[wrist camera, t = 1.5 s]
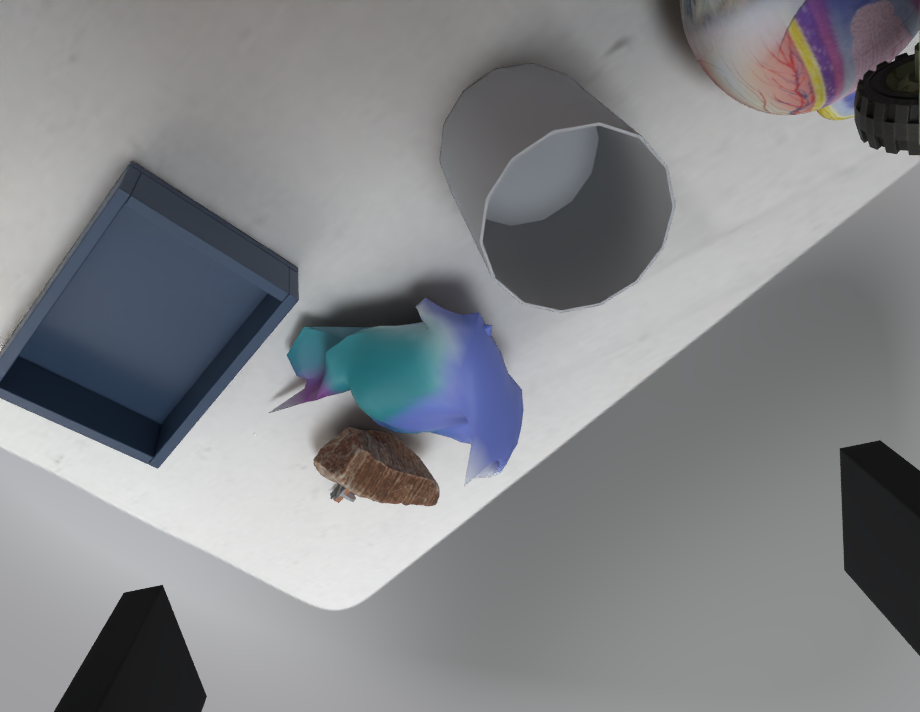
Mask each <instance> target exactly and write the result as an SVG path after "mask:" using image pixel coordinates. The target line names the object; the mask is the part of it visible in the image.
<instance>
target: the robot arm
mask: <svg viewBox="0 0 920 712" xmlns="http://www.w3.org/2000/svg"><path fill="white" fill-rule="evenodd" d="M840 466H841V492H842V517H843V518H842V519H843V544H844V545H843V546H844V570H845V571H846V573H847V574H848V575H849V576H850V577H851V578H852V579H853V580H854V582H855V583H856V584H857V585H858V586H859V587H860V588H861V590H862V591H863V592H864V593H865V594H866V595H867V596H868V598H869V599H870V600H871V601H872V602H873V603H874V604H875V605H876V607H877V608H878V609H879V610H880V611H881V612H882V613H883V614H884V615H885V617H886V618H887V619H888V620H889V621H890V622H891V624H892V625H893V626H894V627H895V628H896V629H897V631H898V632H899V633H900V634H901V635H902V636H903V637H904V638H905V640H906V641H907V642H908V643H909V644H910V645H911V646H912V648H913V649H914V650H915V651H916V652H917V653H918V654H919V655H920V471H919V470H918V469H917V468H915V467H914V466H913V465H912V464H910V463H909V462H908V461H906V460H905V459H904V458H902V457H901V456H900V455H899V454H897V453H896V452H895V451H893V450H892V449H890V448H889V447H888V446H887V445H885V444H884V443H883V442H882V441H875V442H870V443H865V444H860V445H855V446H850V447H845V448H840ZM206 697H207V696H206V694H205V691H204V689H203V686H202V683H201V681H200V678H199V676H198V673H197V671H196V668H195V666H194V663H193V661H192V658H191V656H190V653H189V651H188V648H187V645H186V643H185V640H184V638H183V635H182V633H181V630H180V628H179V625H178V623H177V620H176V618H175V615H174V612H173V610H172V608H171V605H170V602H169V600H168V597H167V595H166V592H165V590H164V587H163V585H160V586H155V587H150V588H145V589H140V590H135V591H130V592H126V593H123V595H122V597H121V599H120V600H119V602H118V604H117V605H116V607H115V609H114V611H113V613H112V614H111V616H110V617H109V619H108V621H107V623H106V624H105V626H104V627H103V629H102V631H101V633H100V634H99V636H98V638H97V639H96V641H95V643H94V645H93V646H92V648H91V650H90V651H89V653H88V655H87V656H86V658H85V660H84V662H83V663H82V665H81V667H80V668H79V670H78V672H77V673H76V675H75V677H74V678H73V680H72V682H71V684H70V685H69V687H68V689H67V691H66V692H65V694H64V696H63V697H62V699H61V701H60V702H59V704H58V706H57V707H56V709H55V711H54V712H201V711H202V708H203V706H204V703H205V700H206Z"/></svg>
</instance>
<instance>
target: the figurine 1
mask: <svg viewBox="0 0 920 712" xmlns="http://www.w3.org/2000/svg"><path fill="white" fill-rule="evenodd" d="M253 434H254V433H253ZM330 494H331V498H333V500H335V501H336V502H338V503H339V502H340V501H341V500H342V499H343V498H346V499H347V500H349V501H351V502H353V501H355V499H356V498H355V496H354V495H355V494H353V493H352V492H350V491H349V490H348V489H347V488H345V487H344V486H342V485H340V484H339V485H338V486H337V487H336V488H335V489H334V491H333V492H332V493H330Z"/></svg>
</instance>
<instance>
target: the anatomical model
mask: <svg viewBox="0 0 920 712" xmlns="http://www.w3.org/2000/svg"><path fill="white" fill-rule="evenodd" d="M680 11H681V17H682V23H683V27H684V31H685V34H686V37H687V40H688V42H689V45H690V47H691V49H692V51H693V53H694V55H695V57H696V59H697V60H698V62H699V64H700V65H701V67H702V68H703V70H704V71H705V72H706V74H707V75H708V76H709V77H710V78H711V79H712V81H713V82H714V83H715V84H716V85H717V86H718V87H720V88H721V89H722V90H723V91H724V92H725V93H726V94H728V95H729V96H730V97H732V98H733V99H735V100H737V101H738V102H740V103H742V104H744V105H746V106H748V107H750V108H753V109H755V110H758V111H762V112H765V113H770V114H777V115H797V114H804V113H808V112H812V111H816V110H817V112H818V113H819V114H820V115H821V116H822V117H824V118H827V119H830V120H843V119H847V118H851V117H855V115H854V99H855V94H856V89H857V84H858V82H859V79H862V80H863V75H864V74H865V73H866V72H867V71H868V70H872V71H876V66H877V65H878V64H880V63H882V62H884V61H887V62H888V63H890V62H891V61H892V60H893V59H894V58H895V56H897V55H898V54H899V53H900V52H901V51H902V50H903V49H904V48H905V47H906V46H907V45H908V44H909V42H910V41H911V40H912V39H913V38H914V36H915V35H916V34H917V32H918V31H919V29H920V0H680Z"/></svg>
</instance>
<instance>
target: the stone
mask: <svg viewBox="0 0 920 712" xmlns="http://www.w3.org/2000/svg"><path fill="white" fill-rule="evenodd" d="M314 466H315V467H316V469H317V470H318V472H319V473H320V474H321V475H322V476H324V477H325V478H327V479H329V480H331V481H334V482H336V483H338V484H340V485H342V486H344V487H345V488H347V489H348V490H349V491H350V492H352V493H353V494H355V495H357V496H359V497H364V498H368V499H371V500H373V501H376V502H379V503H391V504H398V503H402V504H403V505H410V504H415V505H424V506H433V505H436V503H437V501H438V498H439V486H438V483H437V482H436V481H435V479H434V478H433V476H432V475H431V473H430V472H429V470H428V469H427V467H426V466H425V465H424V463H423V462H422V461H421V460H420V458H419V457H418V456H417V455H416V454H415V453H414V452H413V451H412V450H411V449H409V448H408V447H407V446H406V445H405V444H404V443H403V442H402V441H401V440H400V439H399V438H397V437H396V436H394V435H392V434H389V433H386V432H383V431H377V430H367V431H363V430H360V429H356V428H352V427H350V428H347V429H345V430H344V431H343V432H341V433H340V434H339V435H338V436H337V437H336V438H334V439H332V440H331V441H330V442H328V443H327V444H326V445H325V446H324V447H323V448H322V449H321V450H320V451H319V453H318V455H317V456H316V457H315V458H314Z"/></svg>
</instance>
